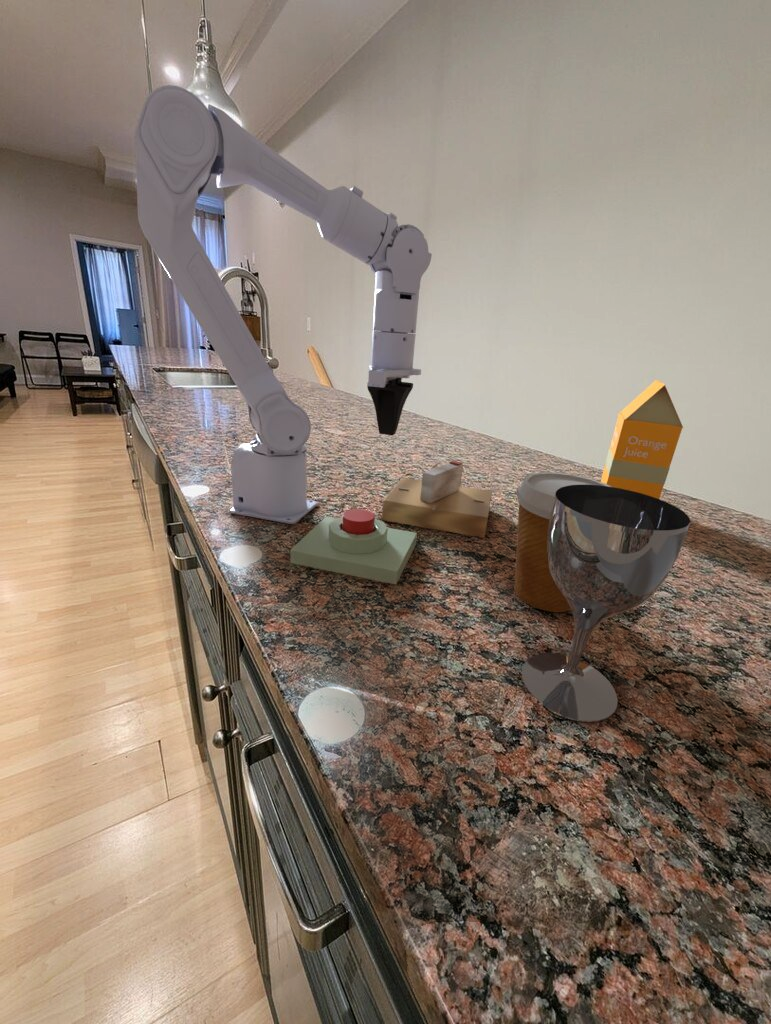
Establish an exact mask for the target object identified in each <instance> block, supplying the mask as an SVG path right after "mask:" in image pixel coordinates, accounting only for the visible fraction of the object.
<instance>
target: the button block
mask: <svg viewBox="0 0 771 1024" xmlns="http://www.w3.org/2000/svg"><path fill="white" fill-rule="evenodd" d="M342 522H343V516H340V517H337V518H335V517H330V516H325V517H324V518H323V519H322V520H321V521H320V522H318V524H316V525H315V526H313V528H312V529H311V530H310V531H309V532H308V533H307V534H306V535H304V536H303V538H301V539H300V540H299V541H298V542H297V543H296V544H295V545H294V546H292V548H291V549H290V550H289V553H290V555H289V556H290V557H289V559H290V560H289V561H290V564H294V565H298V566H303V567H308V568H312V569H313V568H314V569H318V570H322V571H328V572H333V573H338V574H343V575H348V576H352V577H356V578H357V577H358V578H362V579H367V580H372V581H377V582H382V583H387V584H391V585H397V584H398V583H399V580H400V578H401V576H402V574H403V572H404V570H405V568H406V567H407V564H408V562H409V560H410V557H411V555H412V553H413V551H414V549H415V547H416V546H417V538H418V532H415V531H410V530H404V529H403V530H402V529H398V528H392V527H387V525H386V524H385V522H384V521H383V520H380V519H378V518H376V517H375V521H374V531H373V532H372V533H369V534H365V535H355V534H350V533H346V532H344V531H343V530H342Z"/></svg>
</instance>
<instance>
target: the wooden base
mask: <svg viewBox="0 0 771 1024" xmlns="http://www.w3.org/2000/svg"><path fill="white" fill-rule="evenodd" d="M421 485H422V479H421V480H420V479H414V478H408V477H407V478H406V477H401V478H400V480H399V481H398V482H396V484H395V486H394V487H393V488H392V489H391V490H390V492H389V493H388V494H387V495H386V496H385V498H384V499H383V500H382V512H381V514H382V515H381V521H386V522H390V523H391V522H392V523H398V524H402V525H409V526H415V527H421V528H425V529H426V528H427V529H430V530H431V529H432V530H437V531H443V532H450V533H453V534H454V533H455V534H460V535H466V536H472V537H478V538H485V536H486V531H487V524H488V519H489V512H490V507H491V501H492V495H493V491H492V490H488V489H480V488H475V487H468V486H461V485H460V490H459V491H457V492H455V493H452V494H450V495H448V496H446V497H444V498H441V499H439V500H437V501H435V502H433V503H428V502H425V501H422V500H420V495H421Z"/></svg>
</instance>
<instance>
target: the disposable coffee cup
mask: <svg viewBox="0 0 771 1024" xmlns="http://www.w3.org/2000/svg"><path fill="white" fill-rule="evenodd" d="M570 485H600V486H608V487H611V486H609V485H607V484H605V483H602V482H601V480H600V481H599V480H596V479H594V478H590V477H585V476H581V475H576V474H569V473H564V472H563V473H562V472H549V471H547V472H546V471H544V472H534V473H530V474H527V475H525V477H524V478H523V480H522V482H521V484H520V485H519V486H518V487H517V488H516V490H515V494H516V497H517V502H518V518H517V520H518V521H517V534H516V535H517V536H516V550H515V552H516V553H515V568H514V569H515V570H514V582H513V583H514V585H513V590H514V594H515V595H516V596H517V597H518V598H519V600H521V601H522V602H524V603H526V604H527V605H529V606H530V607H533V608H535V609H538V610H541V611H546V612H551V613H564V612H569V611H572V610H571V608H570V606H569V604H568V602H567V601H566V599H565V598H564V596H563V595H562V593H561V592H560V590H559V589H558V587H557V586H556V584H555V582H554V581H553V578H552V576H551V574H550V571H549V567H548V561H547V538H548V525H549V519H550V514H551V508H552V504H553V500H554V496H555V493H556V491H557V490H558V489H560V488H561V487H565V486H570Z"/></svg>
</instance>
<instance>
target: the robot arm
mask: <svg viewBox="0 0 771 1024" xmlns="http://www.w3.org/2000/svg"><path fill="white" fill-rule="evenodd" d="M133 138H134V149H135V170H136V171H135V172H136V174H135V175H136V201H137V202H136V203H137V221H138V224H139V226H140V229H141V231H142V233H143V235H144V237H145V239H146V240H147V242H148V243H149V245H150V247H151V249H152V251H153V253H155V255H156V256H157V259H158V260H159V262H160V264H161V265H162V266H163V268H164V270H165V271H166V273H167V274H168V276H169V278H170V279H171V281H172V283H173V284H174V286H175V288H176V289H177V291H178V293H179V295H180V296H181V297H182V299H183V301H184V302H185V304H186V306H187V307H188V309H189V311H190V312H191V314H192V315H193V317H194V319H195V320H196V322H197V324H198V325H199V327H200V328H201V331H202V332H203V334H204V336H206V339H207V340H208V342H209V343H210V345H211V346H212V348H213V350H214V351H215V353H216V355H217V356H218V358H219V359H220V361H221V363H222V364H223V366H224V368H225V369H226V371H227V373H228V375H229V376H230V377H231V379H232V381H233V382H234V384H235V386H236V388H237V390H238V391H239V394H240V395H241V396H242V398H243V400H244V402H245V403H246V406H247V412H248V421H249V423H250V425H251V427H252V428H253V430H254V431H255V432H256V434H255V435H254V437H253V438H252V440H251V442H250V443H242V444H240V445H239V446H238V447H237V448H236V449H235V450H234V451H233V452H234V453H233V455H232V458H231V464H230V475H231V487H232V488H231V489H232V504H233V507H232V508H230V514H234V515H239V516H244V517H245V516H246V517H249V518H256V519H260V520H266V521H272V522H276V523H283V524H288V525H295V524H296V523H297V522H299V521H300V520H301V519H302V518H304V517H305V516H306V515H307V514H308V513H309V512H311V511H312V510H313V509H314V508H316V507H317V506H318V501H317V500H312V499H308V493H307V492H308V491H307V490H308V487H307V486H308V484H307V483H308V482H307V481H308V470H307V469H308V468H307V467H308V465H307V464H308V461H307V460H308V457H307V456H308V454H307V453H308V450H307V449H308V447H307V446H308V445H307V442H308V440H309V438H310V437H311V436H310V435H311V431H312V424H311V421H310V417H309V415H308V413H307V412H306V411H305V409H304V408H302V407H301V406H300V405H298V404H297V403H295V402H294V401H293V400H292V399H291V398H290V396H289V395H288V393H287V392H286V389H285V388H284V386H283V385H282V384H281V382H280V380H279V379H278V378H277V376H276V375H275V374H274V372H273V370H272V369H271V367H270V365H269V364H268V362H267V360H266V358H265V357H264V354H263V352H262V351H261V349H260V347H259V346H258V344H257V342H256V340H255V339H254V337H253V334H252V333H251V331H250V330H249V327H248V326H247V324H246V322H245V320H244V319H243V317H242V316H241V313H240V311H239V310H238V308H237V306H236V304H235V303H234V301H233V298H232V297H231V295H230V293H229V292H228V289H227V288H226V286H225V284H224V283H223V281H222V278H220V276H219V273H218V272H217V270H216V268H215V267H214V265H213V263H212V261H211V259H210V258H209V256H208V254H207V252H206V251H205V250H206V249H204V247H203V245H202V243H201V242H200V239H199V238H198V236H197V234H196V233H195V231H194V228H193V222H194V218H195V217H194V216H195V212H196V208H197V203H198V200H199V199H200V197H201V196H202V194H203V192H204V191H205V189H206V187H207V186H208V185H209V183H210V181H211V178H212V176H216V188H218V189H223V188H229V187H235V186H241V185H248V186H250V187H252V188H254V189H256V190H257V191H260V192H261V193H263V194H265V195H267V196H269V197H271V198H273V199H274V200H276V201H278V202H280V203H282V204H284V205H285V206H288V207H289V208H291V209H293V210H295V211H296V212H298V213H301V214H303V215H305V216H306V217H308V218H310V219H312V220H314V221H315V223H316V225H317V228H318V231H319V233H320V235H321V238H322V239H323V240H325V241H326V242H328V243H329V244H332V245H333V246H334V247H336V248H338V249H340V250H342V251H343V252H345V253H347V254H348V255H350V256H352V257H354V258H355V259H357V260H359V261H360V262H362V263H364V264H366V265H367V266H369V267H370V269H371V271H372V273H373V274H374V276H375V285H374V297H373V298H374V300H373V301H374V302H373V303H374V304H373V319H372V321H373V322H372V337H371V339H372V340H371V341H372V342H371V358H370V359H371V361H370V364H369V368H368V378H367V379H368V381H367V382H366V383H367V391H368V393H369V394H370V395H369V396H370V397H371V399H372V404H373V406H374V411H375V416H376V422H377V428H378V433H379V434H380V435H386V436H395V434H396V433H397V430H398V427H399V423H400V420H401V417H402V412H403V410H404V407H405V404H406V402H407V399H408V397H409V395H410V393H411V392H412V390H413V389H414V383H413V382H407V381H402V380H403V379H410V377H411V376H421V375H422V369H421V368H414V358H415V346H416V345H415V344H416V333H417V323H418V322H417V321H418V311H419V300H420V299H419V298H420V289H421V281H422V277H423V275H424V274H425V273H426V272H427V270H428V268H429V266H430V264H431V261H432V255H433V254H432V253H431V252H429V244H428V240H427V239H426V238H425V235H424V233H423V232H422V230H421V229H419V228H418V227H417V226H415V225H414V224H413V225H412V224H409V223H406V224H401V225H399V224H398V221H397V219H398V217H397V215H395V214H394V213H393V212H388V213H386V212H384V211H383V210H381V209H379V208H378V207H376V206H375V205H373V204H372V203H370V202H369V201H368V200H366V199H365V198H363V195H364V191H363V190H362V189H360V188H358V187H357V186H355V185H353V186H352V187H350V188H348V187H347V186H345V185H341V186H337V187H335V188H332V189H327V188H326V187H325V186H324V185H322V184H321V183H319V182H318V181H316V180H315V179H314V178H312V177H311V176H310V175H308V174H307V173H305V172H304V171H302V170H301V169H300V168H298V167H297V166H296V165H295V164H293V163H292V162H290V161H289V160H287V159H286V158H285V157H283V156H282V155H280V154H279V153H278V152H276V151H275V150H274V149H272V148H271V147H269V146H268V145H267V144H265V143H264V142H262V140H260V139H259V138H257V137H256V136H254V135H253V134H252V133H250V132H249V131H248V130H246V129H245V128H244V127H242V126H241V125H240V124H239V123H238V122H236V120H235V119H233V118H232V117H231V116H230V115H229V114H227V112H225V111H224V110H222V109H221V108H218V107H216V106H215V105H212V104H208V106H206V105H205V103H204V102H203V101H202V100H201V99H200V98H199V97H198V96H197V95H196V94H194V93H193V92H191V91H190V90H188V89H186V88H184V87H181V86H178V85H171V84H167V85H162V86H159V87H156V88H155V89H153V90H152V91H151V92H150V93H149V94H148V95H147V97H146V98H145V100H144V103H143V106H142V108H141V111H140V113H139V118H138V121H137V124H136V127H135V130H134V137H133Z"/></svg>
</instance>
